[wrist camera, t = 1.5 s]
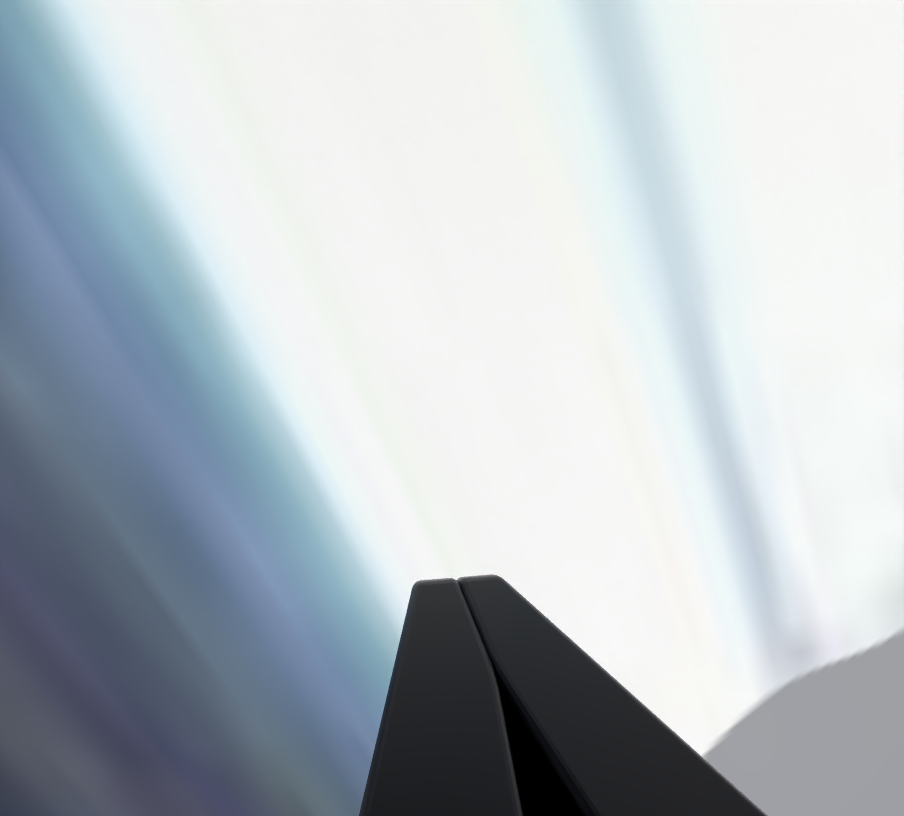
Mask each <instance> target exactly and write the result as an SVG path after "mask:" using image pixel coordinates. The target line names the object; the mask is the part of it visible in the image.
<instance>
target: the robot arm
mask: <svg viewBox="0 0 904 816" xmlns="http://www.w3.org/2000/svg"><path fill="white" fill-rule="evenodd" d="M359 816H767V815H766V814H765V813H764V812H763V811H761V809H759V808H758V807H757V806H756V805H755V804H754V803H753V802H751V801H750V800H749V799H748V798H747V797H746V796H745V795H744V794H742V792H740V791H739V790H738V789H737V788H736V787H735V786H734V785H733V784H732V783H730V782H729V781H728V780H727V779H726V778H725V777H724V776H723V775H721V774H720V773H719V772H718V771H717V770H716V769H715V768H714V767H713V766H711V765H710V764H709V763H708V762H707V761H706V760H705V759H704V758H703V757H701V756H700V755H699V754H698V753H697V752H696V751H695V750H694V749H692V748H691V747H690V746H689V745H688V744H687V743H686V742H685V741H684V740H682V739H681V738H680V737H679V736H678V735H677V734H676V733H675V732H674V731H672V730H671V729H670V728H669V727H668V726H667V725H666V724H665V723H664V722H662V721H661V720H660V719H659V718H658V717H657V716H656V715H655V714H653V713H652V712H651V711H650V710H649V709H648V708H647V707H646V706H645V705H643V704H642V703H641V702H640V701H639V700H638V699H637V698H636V697H635V696H633V695H632V694H631V693H630V692H629V691H628V690H627V689H626V688H624V687H623V686H622V685H621V684H620V683H619V682H618V681H617V680H616V679H614V678H613V677H612V676H611V675H610V674H609V673H608V672H607V671H606V670H604V669H603V668H602V667H601V666H600V665H599V664H598V663H597V662H595V661H594V660H593V659H592V658H591V657H590V656H589V655H588V654H587V653H585V652H584V651H583V650H582V649H581V648H580V647H579V646H578V645H577V644H575V643H574V642H573V641H572V640H571V639H570V638H569V637H568V636H566V635H565V634H564V633H563V632H562V631H561V630H560V629H559V628H558V627H556V626H555V625H554V624H553V623H552V622H551V621H550V620H549V619H548V618H546V617H545V616H544V615H543V614H542V613H541V612H540V611H539V610H538V609H536V608H535V607H534V606H533V605H532V604H531V603H530V602H529V601H527V600H526V599H525V598H524V597H523V596H522V595H521V594H520V593H519V592H517V591H516V590H515V589H514V588H513V587H512V586H511V585H510V584H509V583H507V582H506V581H505V580H504V579H503V578H501V577H499V576H497V575H481V576H469V577H461V578H459V579H458V580H457V581H456V580H455V579H453V578H444V579H432V580H420V581H417V582H416V583H415V584H414V585H413V588H412V591H411V596H410V600H409V604H408V608H407V613H406V617H405V621H404V625H403V630H402V634H401V638H400V643H399V647H398V651H397V655H396V660H395V664H394V668H393V673H392V677H391V681H390V685H389V690H388V694H387V698H386V702H385V707H384V711H383V715H382V720H381V724H380V728H379V732H378V737H377V741H376V745H375V750H374V754H373V758H372V762H371V767H370V771H369V775H368V779H367V784H366V788H365V792H364V797H363V801H362V805H361V809H360V814H359Z"/></svg>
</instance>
